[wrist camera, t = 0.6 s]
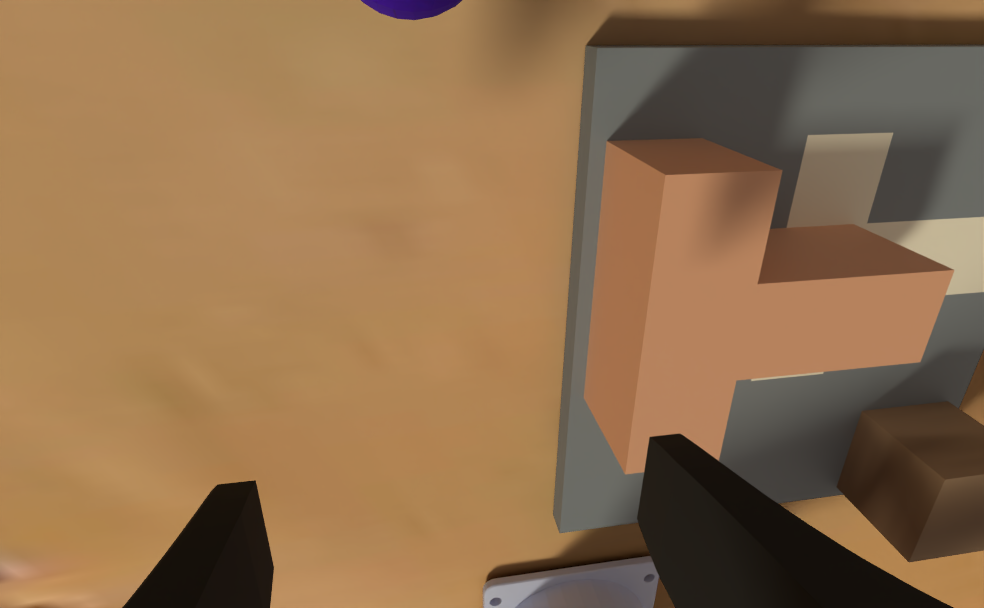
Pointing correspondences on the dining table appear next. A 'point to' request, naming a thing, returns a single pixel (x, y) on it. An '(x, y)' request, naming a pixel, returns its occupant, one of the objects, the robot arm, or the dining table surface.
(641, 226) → the t block
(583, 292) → the board
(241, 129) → the dining table surface
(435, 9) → the decorative model
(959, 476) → the walnut cube
